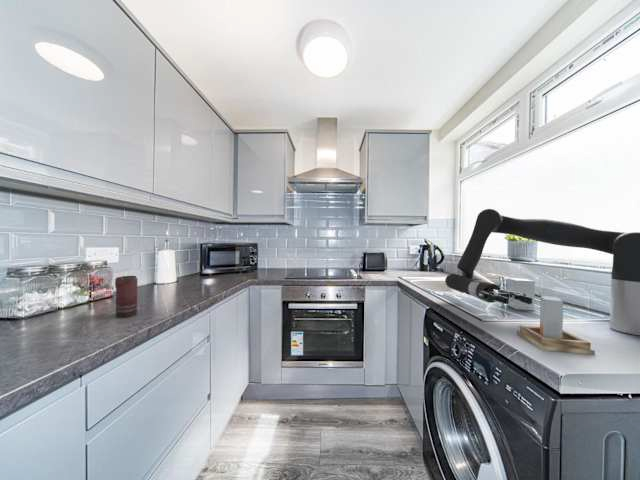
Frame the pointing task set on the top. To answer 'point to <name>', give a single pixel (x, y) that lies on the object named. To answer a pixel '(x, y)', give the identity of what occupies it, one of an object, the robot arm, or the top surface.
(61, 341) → the top surface
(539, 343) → the wooden tray
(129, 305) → the can
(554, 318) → the skincare box
